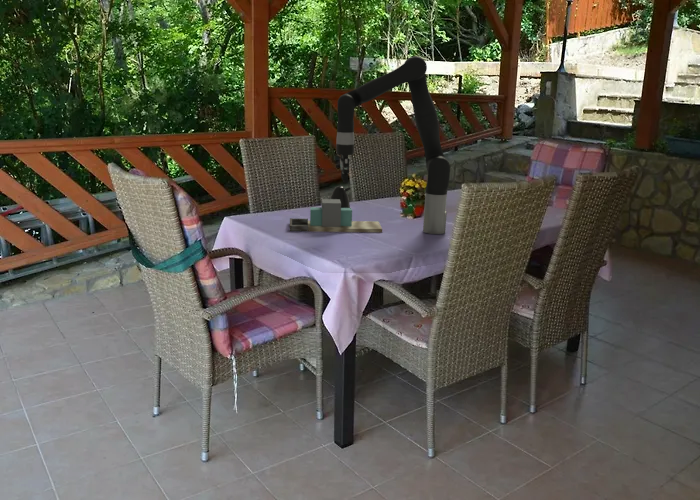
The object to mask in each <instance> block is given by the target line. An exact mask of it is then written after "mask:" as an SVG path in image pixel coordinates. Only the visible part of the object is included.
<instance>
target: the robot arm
mask: <svg viewBox="0 0 700 500" xmlns="http://www.w3.org/2000/svg"><path fill="white" fill-rule="evenodd" d="M427 69H428V67H427V62H426V60H425V59H424V58H422V57H420V56H410V57H408V58H407V59H406V60H404V63H403V64H401V65H400V66H399V67H397V68H396V69H394V70H391V71H390V72H388V73H386V74H384V75H381V76H378V77H376V78H374V79H372V80H369V81H368V82H365V83H363V84H362V85H360V86H358V87H357V88H355V89H353V90H350V91H348V92H346V93H344V94H342V95H340V96H339V98H338V99H337V127H336V129H337V130H336V149H335V153H336V154H337V155H339V156H340V158H339V162H340V164H339V167H340V171H341V172H340V176H341V177H340V178H341V180H342V183H343V184H346V183H349V173H350V164H351V159H350V157H349V156H353V155H354V154H355V133H354V131H355V121H354V116H355V115H354V114H355V108H356V107H357V108H358V106H360V105H362V104H364V103H368V102H370V101H372V100H374V99H376V98H377V97H380V96H381V95H383V94H385V93H387V92H388V91H391V90H393V89H395V88H397V87H398V86H401V85H403V84H406V83H407V84H408V88H409V91H410V95H411V97H410V98H411V103H412V105H411V106H412V110H413V115H414V121H415V124H416V127H417V130H418V135H419V138H420V140H421V143H422V146H423V150H424V151H423V153H424V157H425V166H426V167H425V168H426V171H427V179H426V180H427V182H426V187H425V197H424V208H423V209H424V212H423V226H422V232H423V233H426V234H430V235H442V234H446V226H447V214H448V212H447V211H446V210H447V198H448V189H449V185H450V175H451V166H450V162H449V160H448V159H446V156H445V154H444V152H443V148H442V145H441V139H440V124H439V118H438V114H437V110H436V107H435V104H434V101H433V98H432V96H431V93H430V91H429V88H428V82H427V77H426V73H427Z"/></svg>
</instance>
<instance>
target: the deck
mask: <svg viewBox="0 0 700 500" xmlns="http://www.w3.org/2000/svg"><path fill="white" fill-rule="evenodd" d="M289 232H303V233H304V232H305V233H306V232H308V233H309V232H311V233H312V232H313V233H314V232H315V233H316V232H317V233H318V232H320V233H321V232H323V233H325V232H326V233H328V232H329V233H383V227H382V226H381V223H380V222H379V221H373V220H372V221H370V220H369V221H365V220H363V221H361V220H359V221H358V220H357V221H356V220H352V226H340V227H322V226H310V220H309V218H297V217H295V218H294V217H293V218H289Z"/></svg>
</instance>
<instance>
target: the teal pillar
mask: <svg viewBox="0 0 700 500" xmlns="http://www.w3.org/2000/svg"><path fill="white" fill-rule="evenodd" d="M309 212H310V213H309V215H310V219H309V221H310V226H322V207H310V211H309ZM352 221H353V209H352V207H350V208H341V226H352Z"/></svg>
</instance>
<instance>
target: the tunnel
mask: <svg viewBox="0 0 700 500" xmlns="http://www.w3.org/2000/svg"><path fill="white" fill-rule="evenodd" d="M321 208H322V227H340V226H341V201H340V199H330V198H321Z"/></svg>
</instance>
